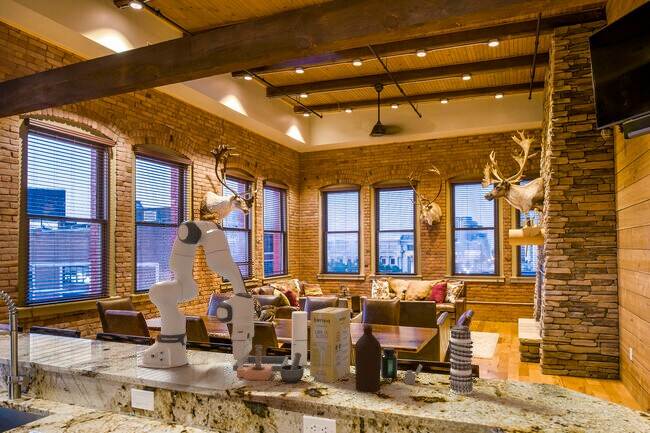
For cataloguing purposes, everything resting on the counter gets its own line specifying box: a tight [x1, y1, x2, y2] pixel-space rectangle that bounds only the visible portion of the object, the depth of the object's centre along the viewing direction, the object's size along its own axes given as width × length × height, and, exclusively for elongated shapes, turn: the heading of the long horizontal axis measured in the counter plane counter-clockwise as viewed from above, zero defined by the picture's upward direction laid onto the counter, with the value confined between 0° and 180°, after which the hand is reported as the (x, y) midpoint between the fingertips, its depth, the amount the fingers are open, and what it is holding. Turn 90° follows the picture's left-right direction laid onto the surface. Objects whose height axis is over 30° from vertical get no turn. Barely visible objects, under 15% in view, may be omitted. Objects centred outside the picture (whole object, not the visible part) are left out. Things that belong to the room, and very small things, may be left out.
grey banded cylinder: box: [448, 324, 474, 395], centre depth 183 cm, size 9×9×25 cm
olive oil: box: [353, 323, 382, 393], centre depth 186 cm, size 11×11×25 cm
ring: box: [236, 366, 273, 380], centre depth 197 cm, size 14×10×3 cm
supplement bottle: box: [380, 347, 398, 379], centre depth 203 cm, size 7×7×12 cm
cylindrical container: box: [290, 310, 308, 367], centre depth 219 cm, size 7×7×25 cm
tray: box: [232, 355, 289, 372], centre depth 215 cm, size 22×18×4 cm
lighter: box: [404, 363, 423, 385], centre depth 192 cm, size 7×2×8 cm, turn 75°
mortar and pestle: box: [279, 353, 305, 384], centre depth 190 cm, size 11×9×12 cm
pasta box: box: [309, 306, 351, 384], centre depth 204 cm, size 18×10×28 cm, turn 154°
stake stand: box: [237, 344, 278, 382], centre depth 197 cm, size 14×14×14 cm
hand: (243, 366), depth 197 cm, fingers open, 8 cm apart
